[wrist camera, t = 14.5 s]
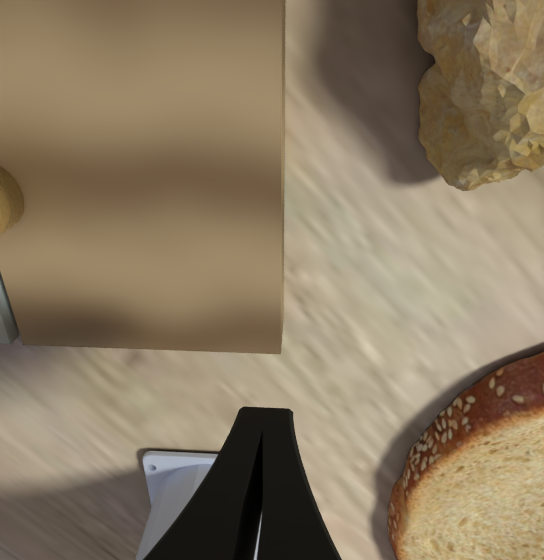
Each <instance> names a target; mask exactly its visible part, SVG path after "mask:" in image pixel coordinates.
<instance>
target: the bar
mask: <svg viewBox="0 0 544 560" xmlns="http://www.w3.org/2000/svg"><path fill="white" fill-rule="evenodd" d="M24 206H25V203H24V197H23V193H22V190H21V188H20V186H19V184H18V183H17V181H16V180H15V179H14V177H13V176H12V175H11V174H10V173H9V172H8V171H7V170H5V169H4V168H3V167H1V166H0V235H2V234H3V233H5V232H6V231H7V230H9V229H10V228H11V227H13V226H14V225H15V224H17V223H18V222H19V220H20V219H21V217H22V215H23V213H24Z"/></svg>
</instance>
